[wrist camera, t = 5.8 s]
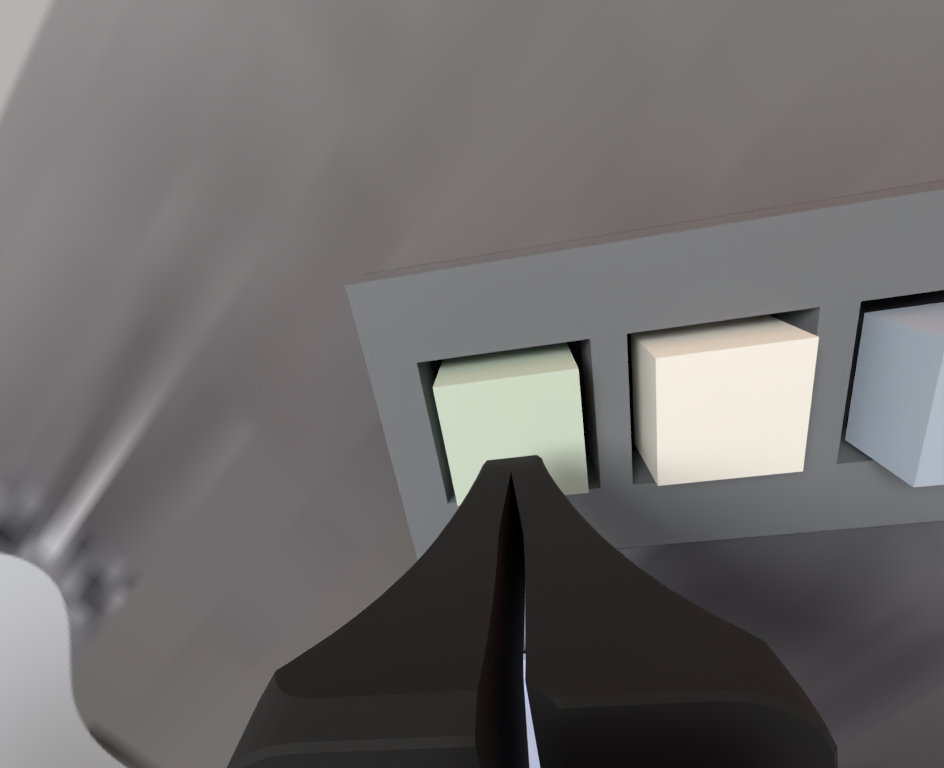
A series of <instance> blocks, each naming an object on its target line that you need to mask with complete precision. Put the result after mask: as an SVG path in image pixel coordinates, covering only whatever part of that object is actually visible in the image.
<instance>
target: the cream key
mask: <svg viewBox="0 0 944 768" xmlns="http://www.w3.org/2000/svg"><path fill="white" fill-rule="evenodd" d="M630 335H631V362H632V388H633V415H634V442H635V445H636V447H637V449H638V451H639V453H640V455H641V456H642V458H643V460H644V462H645V464H646V465H647V467H648V469H649V471H650V473H651V475H652V476H653V478H654V480H655V482H656V484H657V485H658V486H662V485H672V484H682V483H692V482H702V481H712V480H722V479H732V478H742V477H752V476H762V475H772V474H782V473H792V472H802V471H803V467H804V459H805V450H806V442H807V433H808V425H809V417H810V408H811V400H812V391H813V383H814V375H815V366H816V358H817V350H818V341H819V337H818V336H816V335H813V334H811V333H809V332H806V331H804V330H802V329H799V328H797V327H795V326H793V325H790V324H788V323H786V322H783V321H781V320H779V319H776V318H774V317H772V316H769V315H767V314H766V315H759V316H752V317H744V318H737V319H730V320H723V321H716V322H708V323H701V324H694V325H687V326H679V327H672V328H665V329H658V330H650V331H643V332H636V333H630Z"/></svg>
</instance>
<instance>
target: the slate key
mask: <svg viewBox="0 0 944 768" xmlns="http://www.w3.org/2000/svg"><path fill="white" fill-rule="evenodd" d="M845 440H846V441H848V442H849V443H850V444H852V445H853V446H855V447H856V448H858V449H859V450H860V451H862V452H863V453H865V454H866V455H868V456H869V457H870V458H872V459H873V460H875V461H876V462H878V463H879V464H881V465H882V466H883V467H885V468H886V469H888V470H889V471H891V472H892V473H893V474H895V475H896V476H898V477H899V478H901V479H902V480H904V481H905V482H906V483H908V484H909V485H911V486H912V487H923V486H934V485H944V302H941V303H933V304H926V305H919V306H911V307H904V308H896V309H889V310H882V311H874V312H867V313H865V314H864V320H863V327H862V333H861V340H860V346H859V353H858V359H857V366H856V372H855V379H854V385H853V392H852V398H851V405H850V411H849V418H848V424H847V430H846V437H845Z"/></svg>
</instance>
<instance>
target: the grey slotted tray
mask: <svg viewBox="0 0 944 768" xmlns="http://www.w3.org/2000/svg"><path fill="white" fill-rule="evenodd" d="M345 286H346V290H347V294H348V297H349V301H350V305H351V309H352V313H353V316H354V320H355V324H356V328H357V332H358V335H359V339H360V343H361V347H362V351H363V354H364V358H365V362H366V366H367V370H368V373H369V377H370V381H371V385H372V389H373V392H374V396H375V400H376V404H377V408H378V411H379V415H380V419H381V423H382V427H383V430H384V434H385V438H386V442H387V446H388V449H389V453H390V457H391V461H392V465H393V468H394V472H395V476H396V480H397V484H398V487H399V491H400V495H401V499H402V503H403V506H404V510H405V514H406V518H407V521H408V525H409V529H410V533H411V537H412V540H413V544H414V548H415V552H416V556H417V559H418V560H419V559H420V557H421V556H422V555H423V554H424V553H425V552H426V551H427V549H428V548H429V547H430V546H431V545H432V543H433V542H434V541H435V540H436V538H437V537H438V536H439V535H440V533H441V532H442V530H443V529H444V528H445V526H446V525H447V524H448V522H449V521H450V520H451V518H452V517H453V515H454V514H455V512H456V511H457V509H458V508H459V506H457V501H456V496H455V491H454V487H453V482H452V477H451V472H450V468H449V463H448V458H447V454H446V449H445V444H444V439H443V435H442V430H441V425H440V420H439V416H438V411H437V406H436V401H435V397H434V392H433V385H434V382H435V379H434V375H433V370H432V365H431V361H433V360H440V359H448V358H455V357H462V356H469V355H477V354H484V353H491V352H498V351H506V350H513V349H520V348H527V347H535V346H542V345H549V344H556V343H564V342H571V341H578V340H580V342H581V355H582V367H583V380H584V392H585V405H586V418H587V430H588V443H589V455H590V456H586V465H587V477H588V489H589V493H583V494H573V495H565V496H566V497H567V499H568V500H569V501H570V502H571V504H572V505H573V506H574V507H575V508H576V510H577V511H578V512H579V513H580V514H581V515H582V516H583V517H584V518H585V519H586V521H587V522H588V523H589V524H590V525H591V526H592V527H593V528H594V529H595V530H596V531H597V532H598V533H599V534H600V535H601V536H602V537H603V538H604V539H605V540H607V541H608V542H609V543H610V544H611V545H612V546H613V547H614V548H616V549H618V548H630V547H642V546H653V545H665V544H676V543H688V542H700V541H711V540H723V539H735V538H746V537H758V536H769V535H781V534H793V533H804V532H816V531H828V530H839V529H851V528H863V527H874V526H886V525H897V524H909V523H921V522H932V521H944V485H934V486H923V487H912V486H911V485H909V484H908V483H906V482H905V481H904V480H902V479H901V478H899V477H898V476H896V475H895V474H893V473H892V472H891V471H889V470H888V469H886V468H885V467H883V466H882V465H881V464H879V463H878V462H876V461H875V460H873V459H872V458H870V457H869V456H868V455H866V454H865V453H863V452H862V451H860V450H859V449H858V448H856V447H855V446H853V445H852V444H850V443H849V442H848V441H846V440H845V437H846V430H847V427H846V428H842V425H843V418H844V411H845V405H846V398H847V391H848V385H849V378H850V371H851V365H852V358H853V351H854V345H855V338H856V331H857V325H858V318H859V311H860V305H861V301H868V300H875V299H882V298H889V297H897V296H904V295H911V294H918V293H925V292H933V291H940V290H944V180H942V181H935V182H929V183H923V184H917V185H911V186H905V187H899V188H892V189H886V190H880V191H874V192H868V193H862V194H856V195H850V196H843V197H837V198H831V199H825V200H819V201H813V202H807V203H800V204H794V205H788V206H782V207H776V208H770V209H764V210H758V211H751V212H745V213H739V214H733V215H727V216H721V217H715V218H708V219H702V220H696V221H690V222H684V223H678V224H672V225H665V226H659V227H653V228H647V229H641V230H635V231H629V232H623V233H616V234H610V235H604V236H598V237H592V238H586V239H580V240H573V241H567V242H561V243H555V244H549V245H543V246H537V247H531V248H524V249H518V250H512V251H506V252H500V253H494V254H488V255H481V256H475V257H469V258H463V259H457V260H451V261H445V262H438V263H432V264H426V265H420V266H414V267H408V268H402V269H396V270H389V271H383V272H377V273H371V274H365V275H363V276H361V277H360V278H358V279H356V280H354V281H352V282H351V283H349V284H347V285H345ZM773 313H776V319H779V320H781V321H783V322H786V323H788V324H790V325H793V326H795V327H797V328H799V329H802V330H804V331H806V332H809V333H811V334H813V335H816V336H818V337H819V341H818V350H817V358H816V366H815V375H814V383H813V391H812V400H811V408H810V417H809V425H808V433H807V442H806V450H805V459H804V467H803V471H802V472H792V473H782V474H772V475H762V476H752V477H742V478H732V479H722V480H712V481H702V482H692V483H682V484H672V485H662V486H658V485H657V484H656V482H655V480H654V478H653V476H652V475H651V473H650V471H649V469H648V467H647V465H646V464H645V462H644V460H643V458H642V456H641V455H640V453H639V451H638V450H636V451H632V449H631V424H630V399H629V375H628V350H627V334H629V333H636V332H643V331H650V330H658V329H665V328H672V327H679V326H687V325H694V324H701V323H708V322H716V321H723V320H730V319H737V318H744V317H752V316H759V315H766V314H773Z"/></svg>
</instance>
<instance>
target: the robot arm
mask: <svg viewBox="0 0 944 768" xmlns="http://www.w3.org/2000/svg"><path fill="white" fill-rule="evenodd" d="M525 589H526V653H523V646H524V607H525ZM227 768H838V761H837V746H836V744H835V742H834V740H833V738H832V736H831V734H830V732H829V730H828V728H827V727H826V725H825V723H824V722H823V720H822V718H821V716H820V715H819V713H818V712H817V710H816V708H815V707H814V705H813V704H812V702H811V701H810V699H809V698H808V696H807V695H806V694H805V692H804V691H803V690H802V688H801V687H800V686H799V684H798V683H797V682H796V681H795V679H794V678H793V677H792V675H791V674H790V673H789V671H788V670H787V669H786V668H785V666H784V665H783V664H782V663H781V661H780V660H779V659H778V658H777V656H776V655H775V654H774V652H773V651H772V650H771V649H770V648H769V646H768V645H767V644H766V643H765V642H764V641H763V640H761V639H759V638H757V637H755V636H753V635H751V634H749V633H747V632H746V631H744V630H742V629H740V628H738V627H736V626H734V625H732V624H730V623H728V622H726V621H724V620H722V619H720V618H718V617H717V616H715V615H713V614H711V613H709V612H707V611H705V610H703V609H701V608H700V607H698V606H696V605H695V604H693V603H691V602H690V601H688V600H686V599H685V598H683V597H681V596H680V595H678V594H677V593H675V592H673V591H672V590H670V589H669V588H667V587H666V586H664V585H663V584H661V583H660V582H659V581H657V580H656V579H654V578H653V577H652V576H650V575H649V574H647V573H646V572H644V571H643V570H642V569H640V568H639V567H637V566H636V565H635V564H634V563H632V562H631V561H630V560H629V559H628V558H626V557H625V556H624V555H623V554H621V553H620V552H619V551H618V550H617V549H616V548H614V547H613V546H612V545H611V544H610V543H609V542H608V541H607V540H605V539H604V538H603V537H602V536H601V535H600V534H599V533H598V532H597V531H596V530H595V529H594V528H593V527H592V526H591V525H590V524H589V523H588V522H587V521H586V519H585V518H584V517H583V516H582V515H581V514H580V513H579V512H578V511H577V510H576V508H575V507H574V506H573V505H572V504H571V502H570V501H569V500H568V499H567V497H566V496H565V495H564V494H563V492H562V491H561V490H560V488H559V487H558V486H557V484H556V483H555V481H554V480H553V478H552V477H551V475H550V474H549V472H548V470H547V468H546V467H545V465H544V462H543V460H542V458H541V457H539V456H538V455H531V456H522V457H513V458H504V459H495V460H487V461H486V462H485V463H484V464H483V466H482V468H481V470H480V472H479V474H478V476H477V478H476V480H475V481H474V483H473V485H472V487H471V488H470V490H469V492H468V494H467V495H466V497H465V498H464V500H463V501H462V503H461V505H460V506H459V508H458V509H457V511H456V512H455V514H454V515H453V517H452V518H451V520H450V521H449V522H448V524H447V525H446V526H445V528H444V529H443V530H442V532H441V533H440V535H439V536H438V537H437V538H436V540H435V541H434V542H433V543H432V545H431V546H430V547H429V548H428V549H427V551H426V552H425V553H424V554H423V555H422V556H421V557H420V559H419V560H418V561H417V562H416V563H415V564H414V565H413V566H412V567H411V568H410V569H409V570H408V571H407V572H406V573H405V574H404V575H403V576H402V577H401V578H400V579H399V580H398V581H396V582H395V583H394V584H393V585H392V586H391V587H390V588H389V589H388V590H387V591H386V592H385V593H384V594H383V595H381V596H380V597H379V598H378V599H377V600H376V601H374V602H373V603H372V604H371V605H369V606H368V607H367V608H366V609H365V610H363V611H362V612H361V613H360V614H358V615H357V616H356V617H354V618H353V619H352V620H350V621H349V622H348V623H346V624H345V625H344V626H343V627H341V628H340V629H338V630H337V631H336V632H334V633H333V634H331V635H330V636H329V637H327V638H326V639H324V640H323V641H321V642H320V643H318V644H317V645H315V646H314V647H312V648H311V649H309V650H308V651H306V652H304V653H303V654H301V655H300V656H298V657H297V658H295V659H294V660H292V661H291V662H289V663H288V664H286V665H285V666H283V667H281V668H280V669H278V670H276V672H275V673H274V675H273V677H272V679H271V681H270V682H269V684H268V686H267V688H266V689H265V691H264V693H263V695H262V696H261V698H260V700H259V702H258V704H257V706H256V708H255V710H254V712H253V714H252V716H251V718H250V720H249V722H248V725H247V727H246V729H245V731H244V733H243V735H242V737H241V739H240V741H239V743H238V745H237V747H236V750H235V752H234V754H233V756H232V758H231V760H230V762H229V764H228V766H227Z"/></svg>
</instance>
